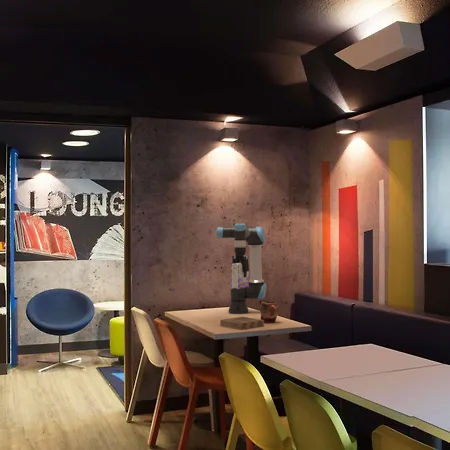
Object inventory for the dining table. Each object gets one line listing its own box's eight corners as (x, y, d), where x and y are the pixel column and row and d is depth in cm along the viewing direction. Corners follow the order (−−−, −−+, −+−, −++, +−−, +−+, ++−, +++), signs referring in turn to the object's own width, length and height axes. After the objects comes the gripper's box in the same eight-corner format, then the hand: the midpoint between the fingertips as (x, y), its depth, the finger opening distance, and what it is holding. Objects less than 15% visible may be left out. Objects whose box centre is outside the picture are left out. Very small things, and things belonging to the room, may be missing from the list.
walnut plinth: (243, 322, 405) (243, 316, 405) (264, 326, 390) (263, 320, 390) (220, 326, 392) (220, 319, 392) (241, 329, 377) (241, 323, 377)
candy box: (241, 287, 405) (241, 262, 405) (249, 287, 402) (249, 262, 402) (230, 288, 393) (230, 263, 393) (238, 289, 390) (238, 263, 390)
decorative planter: (285, 323, 399) (285, 302, 399) (269, 325, 394) (269, 303, 394) (269, 319, 417) (269, 299, 417) (254, 321, 412) (254, 300, 412)
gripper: (226, 246, 403) (226, 281, 403) (246, 247, 388) (246, 283, 387) (234, 246, 408) (234, 280, 408) (254, 247, 393) (254, 282, 392)
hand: (240, 281), depth 398 cm, fingers closed on candy box, 7 cm apart
